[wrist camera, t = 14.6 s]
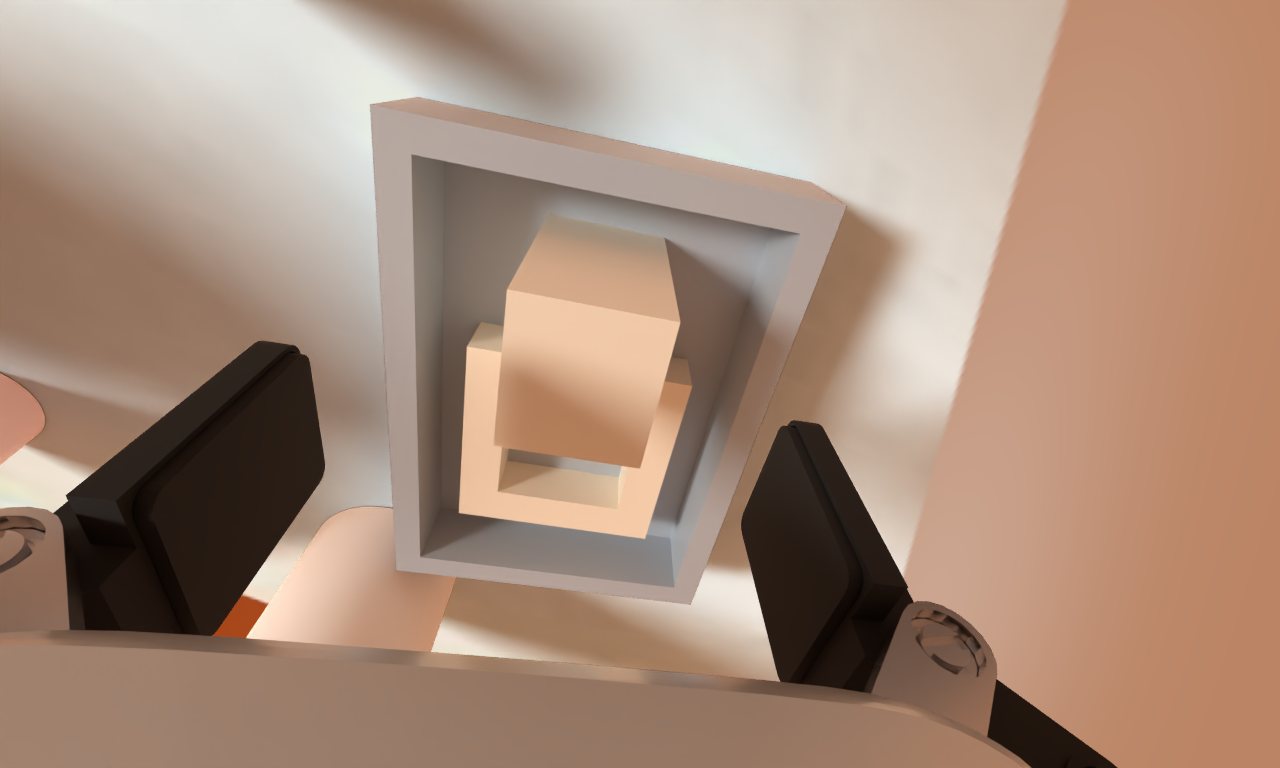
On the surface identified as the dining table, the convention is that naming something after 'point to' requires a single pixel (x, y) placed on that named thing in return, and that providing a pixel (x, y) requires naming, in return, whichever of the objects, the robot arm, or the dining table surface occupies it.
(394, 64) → the dining table surface
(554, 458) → the tray
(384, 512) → the cylindrical container
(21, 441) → the smoothie
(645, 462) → the beige stepped block
